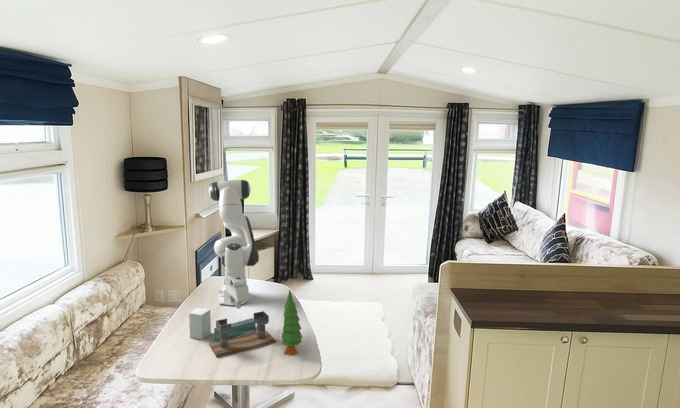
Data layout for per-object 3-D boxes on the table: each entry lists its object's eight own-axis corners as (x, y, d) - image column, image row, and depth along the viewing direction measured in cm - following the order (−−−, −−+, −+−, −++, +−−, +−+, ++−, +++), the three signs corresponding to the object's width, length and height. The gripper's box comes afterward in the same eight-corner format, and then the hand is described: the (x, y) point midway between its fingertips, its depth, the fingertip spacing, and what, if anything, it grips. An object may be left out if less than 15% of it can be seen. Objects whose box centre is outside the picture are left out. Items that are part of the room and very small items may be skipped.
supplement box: (211, 333, 206) (211, 309, 204) (202, 340, 199) (201, 315, 197) (198, 331, 208) (198, 307, 206) (189, 337, 201) (188, 312, 199)
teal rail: (214, 339, 200) (214, 328, 199) (251, 329, 212) (251, 318, 211) (217, 343, 197) (217, 331, 196) (255, 331, 209) (255, 320, 208)
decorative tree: (282, 347, 193) (282, 285, 189) (302, 346, 194) (303, 285, 190) (281, 357, 184) (281, 293, 180) (302, 357, 185) (303, 292, 181)
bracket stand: (209, 346, 193) (208, 319, 191) (266, 333, 208) (266, 308, 206) (216, 357, 183) (216, 329, 181) (275, 343, 198) (275, 317, 196)
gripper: (221, 273, 207) (222, 299, 209) (234, 284, 190) (235, 313, 192) (234, 271, 211) (234, 297, 212) (247, 282, 193) (248, 310, 195)
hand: (235, 305), depth 202 cm, fingers open, 8 cm apart
